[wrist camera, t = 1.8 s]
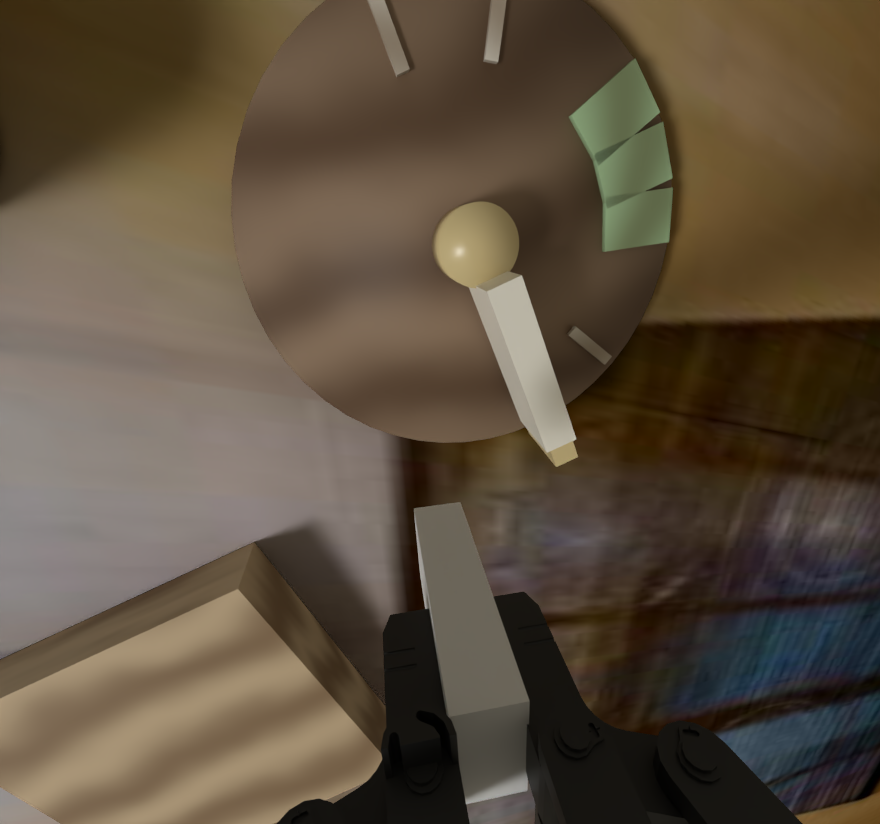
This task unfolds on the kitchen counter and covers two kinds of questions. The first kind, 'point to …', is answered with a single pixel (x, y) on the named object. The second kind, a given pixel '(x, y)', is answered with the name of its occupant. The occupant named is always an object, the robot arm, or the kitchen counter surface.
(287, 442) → the kitchen counter surface
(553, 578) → the kitchen counter surface
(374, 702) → the block
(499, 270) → the white bar with ball
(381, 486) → the kitchen counter surface
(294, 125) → the dial
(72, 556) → the kitchen counter surface
